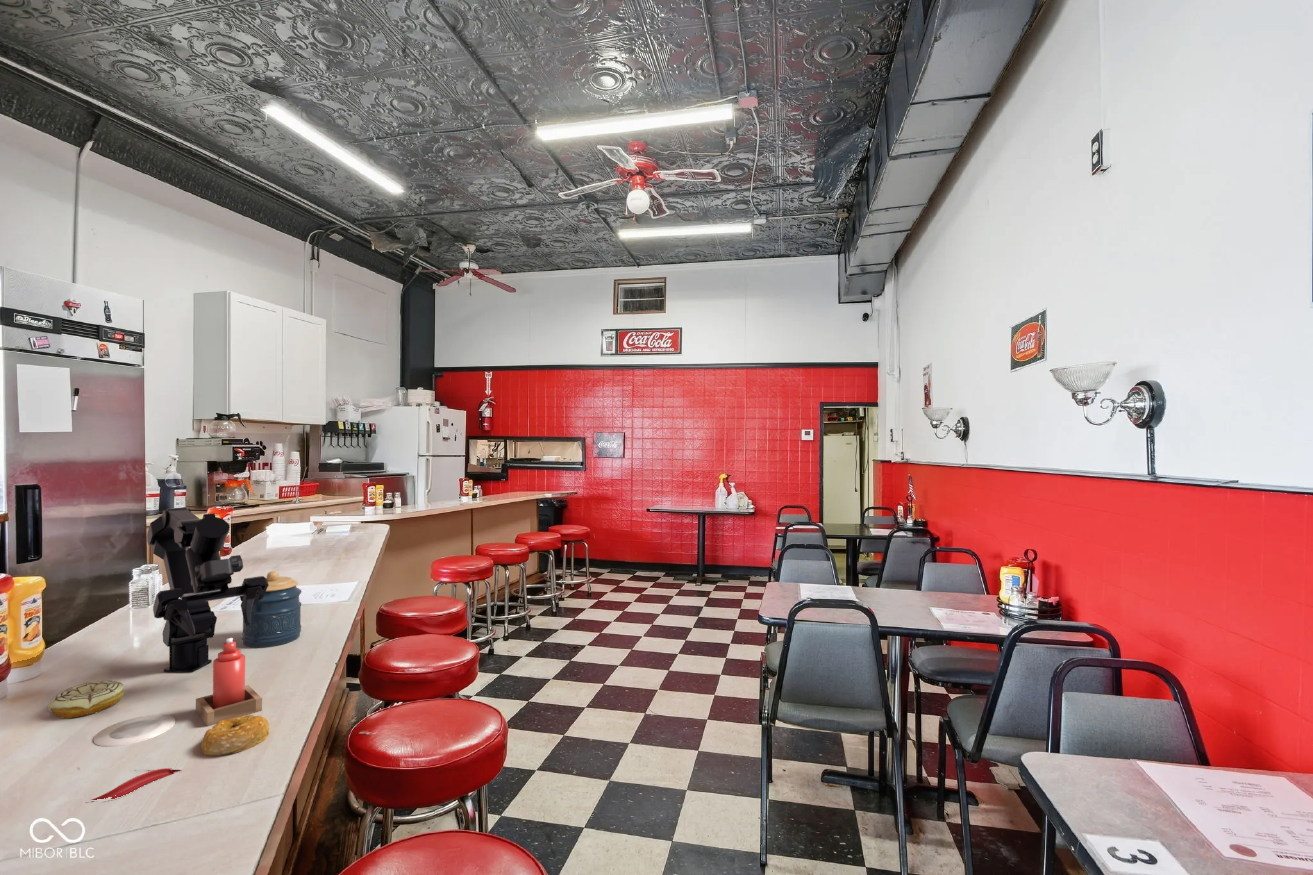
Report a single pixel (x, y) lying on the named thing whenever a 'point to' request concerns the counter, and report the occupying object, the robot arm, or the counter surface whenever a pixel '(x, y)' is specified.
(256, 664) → the counter surface
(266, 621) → the canister
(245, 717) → the bagel
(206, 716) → the tray
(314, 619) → the counter surface
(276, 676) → the counter surface
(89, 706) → the decorated donut
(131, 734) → the saucer
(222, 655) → the ketchup bottle
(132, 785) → the cayenne pepper
